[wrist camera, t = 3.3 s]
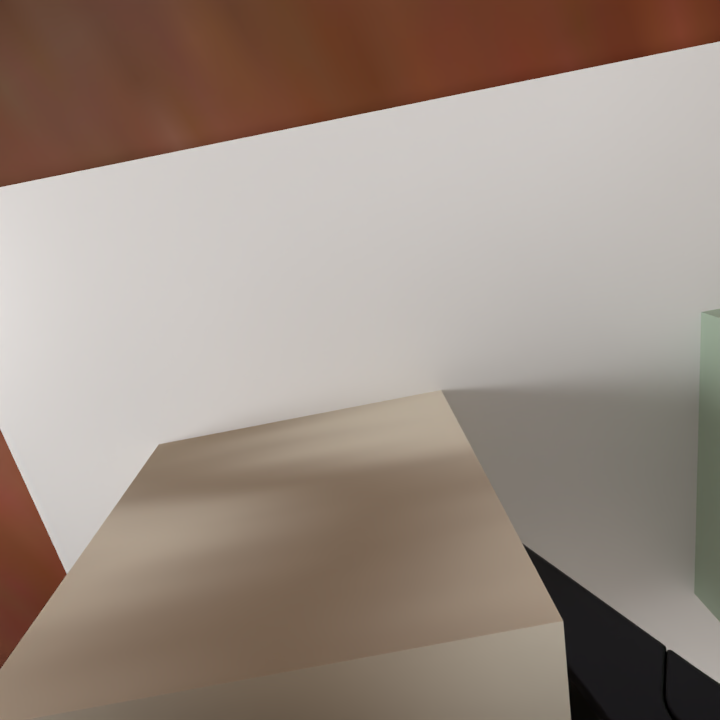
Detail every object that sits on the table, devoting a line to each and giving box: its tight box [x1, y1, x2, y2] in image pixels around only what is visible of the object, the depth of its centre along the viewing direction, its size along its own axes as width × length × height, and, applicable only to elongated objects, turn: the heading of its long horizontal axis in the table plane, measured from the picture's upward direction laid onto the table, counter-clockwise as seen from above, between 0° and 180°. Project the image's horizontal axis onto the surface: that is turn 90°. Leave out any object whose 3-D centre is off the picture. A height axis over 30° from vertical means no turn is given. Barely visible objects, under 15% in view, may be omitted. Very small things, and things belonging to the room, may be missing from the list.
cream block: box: [0, 390, 571, 720], centre depth 7 cm, size 5×5×5 cm
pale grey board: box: [0, 42, 720, 683], centre depth 10 cm, size 20×14×1 cm
